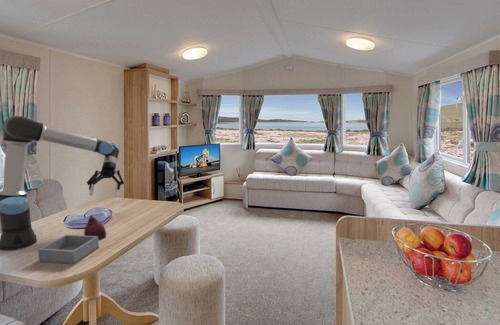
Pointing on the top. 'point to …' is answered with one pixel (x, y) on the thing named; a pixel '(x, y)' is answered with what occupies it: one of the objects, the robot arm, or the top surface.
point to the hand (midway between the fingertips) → (103, 194)
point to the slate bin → (68, 249)
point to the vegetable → (95, 228)
